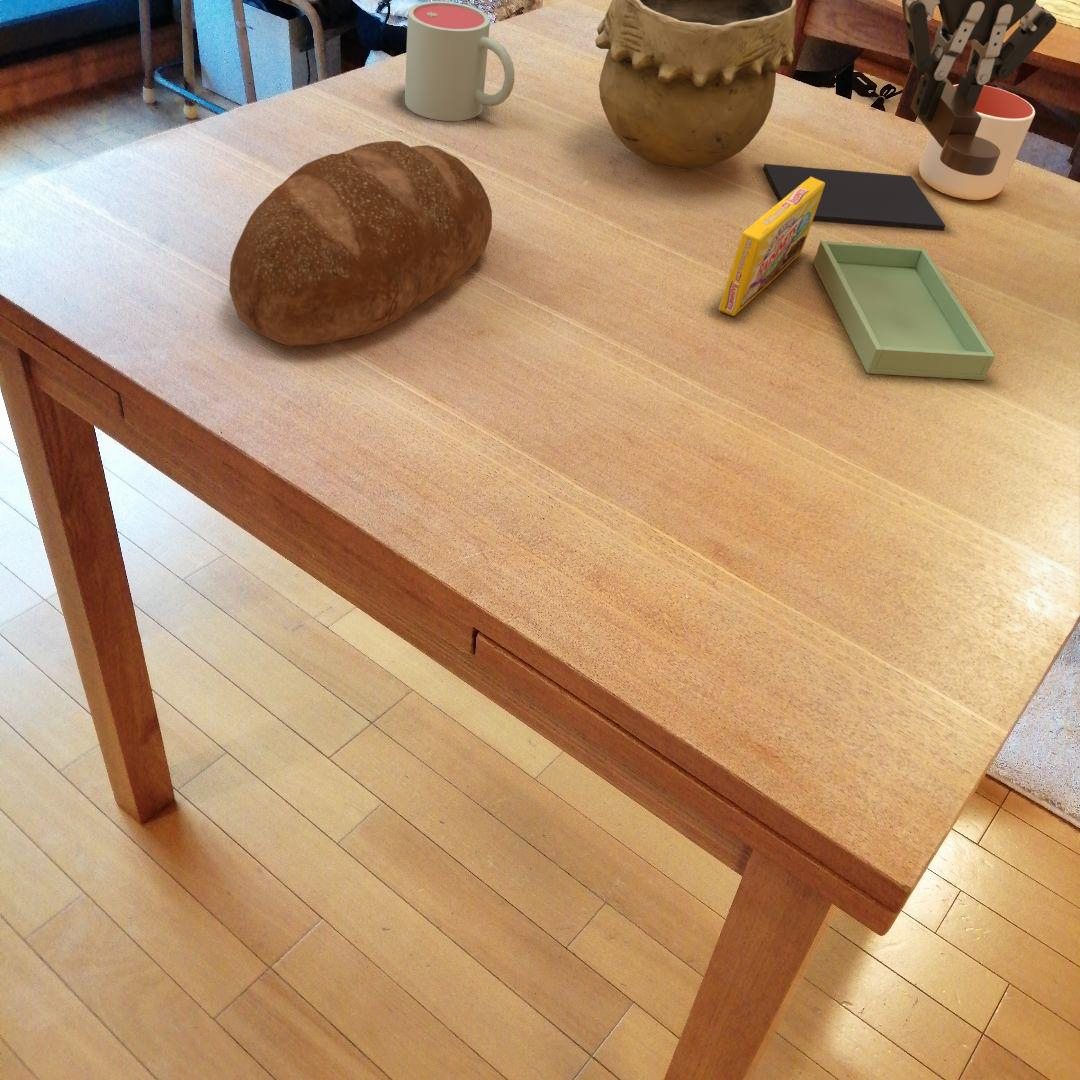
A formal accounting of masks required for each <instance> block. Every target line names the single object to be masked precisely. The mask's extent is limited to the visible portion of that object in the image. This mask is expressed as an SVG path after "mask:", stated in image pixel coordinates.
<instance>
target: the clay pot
mask: <svg viewBox="0 0 1080 1080" xmlns="http://www.w3.org/2000/svg"><path fill="white" fill-rule="evenodd" d="M796 14H797V0H611V2H610V4H609V6H608V9H607V10H606V13H605V15H604V18H602V20H601V22H600V23H599V24H598V26H597V29H596V31H597V36H596V37H595V41H594V42H595V47H596V48H598V49H600V50H602V49H603V50H607V52H606V55H605V59H604V62H603V65H602V69H601V73H600V78H599V82H598V90H599V100H600V103H601V106H602V109H603V112H604V115H605V117H606V119H607V122H608V123H609V126H610V127H611V130H612V131H613V133H614V134H615V136H616V137H617V138H618V140H619V141H620V142H621V143H622V144H623V145H624V146H625V148H627V149H629V150H630V151H631V152H632V153H634V154H635V155H637V156H639V157H640V158H643V159H644V160H646V161H648V162H649V163H652V164H653V165H657V166H660V167H664V168H667V169H668V168H669V169H679V170H697V169H703V168H708V167H712V166H716V165H718V164H721V163H724V162H725V161H727V160H729V159H731V158H732V157H734V156H736V155H737V154H739V153H741V152H742V151H743V150H744V149H746V147H747V146H748V145H749V144H750V143H751V142H752V141H753V140H754V139H755V137H756V136H757V135H758V133H759V132H760V130H761V129H762V128H763V126H764V124H765V123H766V120H767V118H768V115H769V114H770V111H771V109H772V105H773V102H774V96H775V89H776V81H777V79H776V78H777V73H778V71H780V66H785V67H792V65H793V61H794V57H795V54H796V53H795V47H794V46H795V45H794V39H795V29H796V16H797V15H796Z"/></svg>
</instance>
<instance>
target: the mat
mask: <svg viewBox="0 0 1080 1080" xmlns="http://www.w3.org/2000/svg"><path fill="white" fill-rule="evenodd" d="M762 169H763V171H764V174H765V175H766V177H767V179H768V181H769V184H770V186H771V187H772V189H773V192H774V194H775V196H776V198H777V200H778V203H779V202H780V201H781V200H782V199H784V198H785V197H786V196H787V195H788V194H790V193H791V192H792V191H793V190H795V189H796V188H797V187H798V186H799V185H801V184H802V183H803V182H804V181H806V180H807V179H809V178H810V177H813V178H815V179H818V180H820V181H823V182H825V186H824V189H823V192H822V195H821V198H820V202H819V204H818V207H817V210H816V213H815V216H814V218H813V221H817V222H829V223H842V224H853V225H866V226H867V225H869V226H883V227H893V228H894V227H895V228H906V229H907V228H908V229H920V230H921V229H923V230H924V229H925V230H933V231H944V230H945V229H946V224H945V222H944V221H943V220H942V219H941V217H940V215H939V214H938V212H937V211H936V209H935V208H934V207H933V205H932V204H931V203H930V201H929V199H927V197H926V195H925V194H924V192H923V191H922V190H921V188H920V187H919V186H918V184H917V182H916V181H915V180H914V178H913V176H911V175H902V174H889V173H879V172H865V171H856V170H855V171H854V170H842V169H832V168H830V169H829V168H819V167H806V166H797V165H796V166H794V165H782V164H771V163H770V164H769V163H764V164H763V167H762Z"/></svg>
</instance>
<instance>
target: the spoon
mask: <svg viewBox="0 0 1080 1080" xmlns="http://www.w3.org/2000/svg"><path fill="white" fill-rule="evenodd" d="M923 76H924V74H921V75H920V78H919V81H918V84H917V86H916V89H915V92H914V95H913V97H912V101H911V104H910V109H911V110H912V112H913V113H914V114H915V115H916V117H917V118H918V119H919V121H920V122H921V123H922V125H923V126H924V127H925V128H926V130H927V131H928V132H929V134H930V133H931V134H932V136H933V137H934V138H935V140H936V141H937V142H938V143H939V145H940V146H941V147H942V148H943V149H942V152H941V154H940V160H941V162H942V163H943V164H945V165H946V166H947V167H949V168H951V169H953V170H955V171H958V172H961V173H964V174H969V175H976V176H983V175H988V174H990V173H992V172H993V170H994V168H995V165H996V163H997V160H998V158H999V156H1000V149H999V148H998V147H997V146H996V145H995V144H993V143H991V142H990V141H988V140H985V139H983V138H980V137H976V136H975V134H976V132H977V129H978V127H979V124H980V122H981V119H982V118H981V117H980V116H979V114H978V113H977V112H976V111H975V110H974V109H973V108H972V106H971V105H970V104H969V103H968V102H967V101H966V100H965V99H964V98H963V96H962V95H961V94H960V93H959V92H958V91H957V90H956V88H955V87H954V86H953V85H954V84H953V83H952V82H951V81H950V80H949V79H948V77H946V78H945V79H944V80H945V81H946V85H945V88H944V90H943V93H942V96H941V98H940V100H939V102H938V105H937V108H936V110H935V113H934V116H933V119H932V121H931V122H923V121H922V120H921V119H920V118H919V116H918V115H917V110H916V109H915V107H914V102H915V99H916V96H917V93H918V91H919V88H920V85H921V82H922V79H923Z"/></svg>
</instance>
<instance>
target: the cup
mask: <svg viewBox="0 0 1080 1080" xmlns="http://www.w3.org/2000/svg"><path fill="white" fill-rule="evenodd" d="M958 84H959V83H958ZM958 84H952V85H953V86H954V87H955V88H956V89H957V87H958ZM974 110H975V111H976V112H977V113H978V114H979V116H980V117H981V118H982V119H981V122H980V124H979V127H978V129H977V132H976V134H975V136H976V137H980V138H983V139H985V140H988V141H990V142H991V143H993V144H995V145H996V146H997V147H998V148H999V149H1000V156H999V158H998V160H997V163H996V165H995V168H994V170H993V172H992V173H990V174H988V175H983V176H976V175H969V174H964V173H961V172H958V171H955V170H953V169H951V168H949V167H947V166H946V165H945V164H943V163H942V162H941V160H940V154H941V152H942V149H943V148H942V147H941V146H940V145H939V143H938V142H937V141H936V140H935V138H934V137H933V136H932V134H931V133H930V132H929V136H928V139H927V141H926V144H925V147H924V149H923V152H922V155H921V157H920V161H919V163H918V171H919V175H920V176H921V179H922V180H923V181H924V182H925V184H926V185H928V186H929V187H931V188H933V189H934V190H935V191H937V192H939V193H942V194H944V195H946V196H950V197H953V198H957V199H960V200H968V201H982V200H987V199H990V198H991V199H992V198H994V197H995V196H997V195H999V193H1000V192H1001V191H1002V190H1003V188H1004V186H1005V184H1006V182H1007V179H1008V177H1009V175H1010V173H1011V170H1012V168H1013V166H1014V163H1015V162H1016V160H1017V157H1018V155H1019V152H1020V150H1021V148H1022V145H1023V143H1024V140H1025V138H1026V136H1027V135H1028V132H1029V129H1030V127H1031V124H1032V122H1033V120H1034V117H1035V115H1036V110H1035V108H1034V106H1033V105H1032V104H1031V103H1030V102H1029V101H1027V100H1026V99H1024V98H1022V97H1021V96H1019V95H1016V94H1015V93H1012V92H1009V91H1007V90H1004V89H1001V88H998V87H994V86H991V85H990V86H989V85H986V84H984V86H983V88H982V90H981V93H980V95H979V98H978V101H977V103H976V106H975V108H974Z"/></svg>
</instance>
